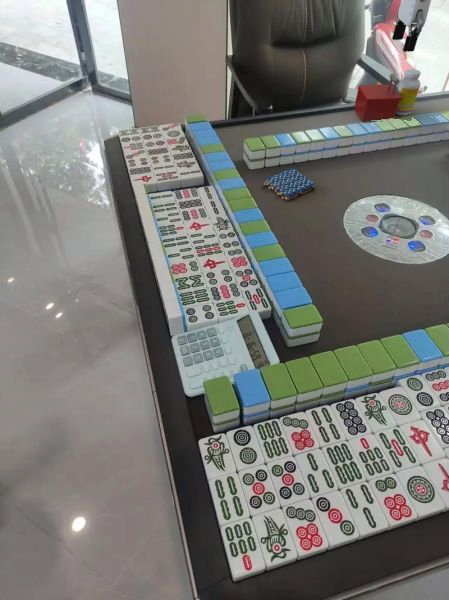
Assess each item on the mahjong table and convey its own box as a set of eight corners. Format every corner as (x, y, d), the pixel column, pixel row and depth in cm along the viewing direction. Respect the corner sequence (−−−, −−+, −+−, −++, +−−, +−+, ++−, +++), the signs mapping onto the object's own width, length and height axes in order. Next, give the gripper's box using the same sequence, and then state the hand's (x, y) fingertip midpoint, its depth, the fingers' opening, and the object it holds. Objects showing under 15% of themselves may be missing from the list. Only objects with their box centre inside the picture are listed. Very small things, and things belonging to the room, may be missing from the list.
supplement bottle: (415, 114, 145) (428, 74, 135) (397, 117, 144) (409, 76, 134) (404, 106, 149) (416, 66, 139) (387, 108, 148) (398, 68, 138)
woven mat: (291, 172, 122) (292, 165, 121) (316, 189, 116) (317, 183, 115) (262, 184, 118) (262, 177, 117) (286, 203, 112) (287, 196, 111)
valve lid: (391, 86, 144) (396, 69, 140) (401, 100, 137) (406, 82, 133) (358, 87, 143) (362, 70, 139) (366, 101, 137) (371, 83, 132)
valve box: (383, 106, 149) (389, 86, 144) (393, 121, 142) (399, 100, 137) (354, 107, 148) (358, 87, 143) (362, 122, 142) (366, 101, 137)
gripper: (448, -17, 111) (425, 55, 124) (423, -33, 122) (405, 35, 135) (420, -17, 110) (399, 56, 123) (397, -33, 122) (381, 35, 135)
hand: (402, 45), depth 129 cm, fingers open, 9 cm apart
